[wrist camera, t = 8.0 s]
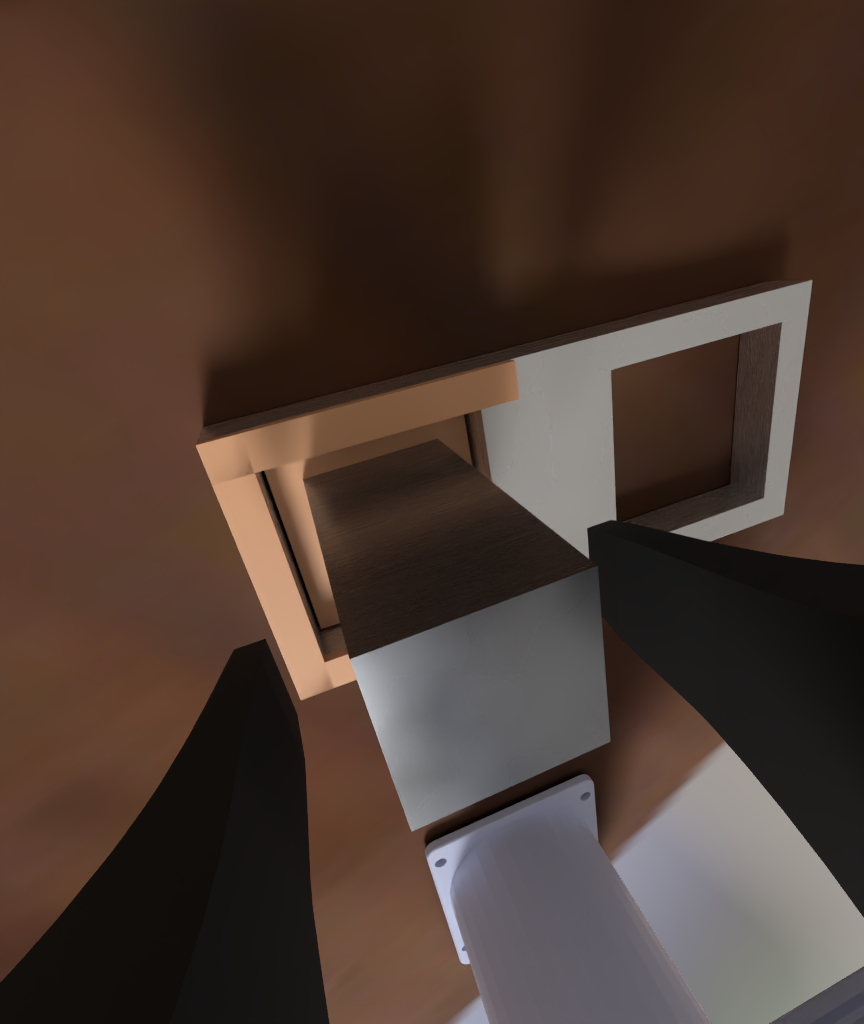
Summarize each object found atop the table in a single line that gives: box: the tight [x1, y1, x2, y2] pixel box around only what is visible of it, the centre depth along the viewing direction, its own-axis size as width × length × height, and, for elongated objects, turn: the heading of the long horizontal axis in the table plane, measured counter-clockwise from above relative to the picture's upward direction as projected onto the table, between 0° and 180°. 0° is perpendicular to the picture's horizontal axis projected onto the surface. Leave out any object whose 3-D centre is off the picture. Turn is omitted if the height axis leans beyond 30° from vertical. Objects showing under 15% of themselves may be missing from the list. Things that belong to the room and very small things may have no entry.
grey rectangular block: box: [303, 439, 611, 831], centre depth 12 cm, size 4×4×8 cm
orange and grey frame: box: [197, 280, 812, 656], centre depth 16 cm, size 8×18×2 cm, turn 101°
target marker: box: [196, 360, 519, 700], centre depth 15 cm, size 8×8×2 cm
